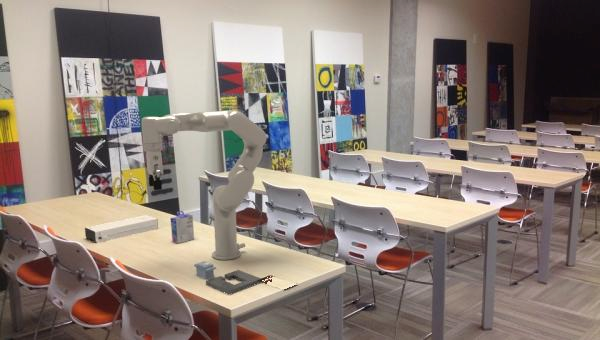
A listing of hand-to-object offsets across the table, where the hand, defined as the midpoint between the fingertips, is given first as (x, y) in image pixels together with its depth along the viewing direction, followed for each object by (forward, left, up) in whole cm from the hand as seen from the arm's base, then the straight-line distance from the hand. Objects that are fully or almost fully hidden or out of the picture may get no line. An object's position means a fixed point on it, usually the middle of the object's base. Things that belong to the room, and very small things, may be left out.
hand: (155, 187), depth 215 cm
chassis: (-7, +40, -33) cm, 53 cm away
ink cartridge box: (-26, -22, -34) cm, 48 cm away
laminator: (-12, -55, -34) cm, 65 cm away
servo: (-5, +25, -33) cm, 42 cm away
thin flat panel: (-19, +52, -34) cm, 65 cm away
